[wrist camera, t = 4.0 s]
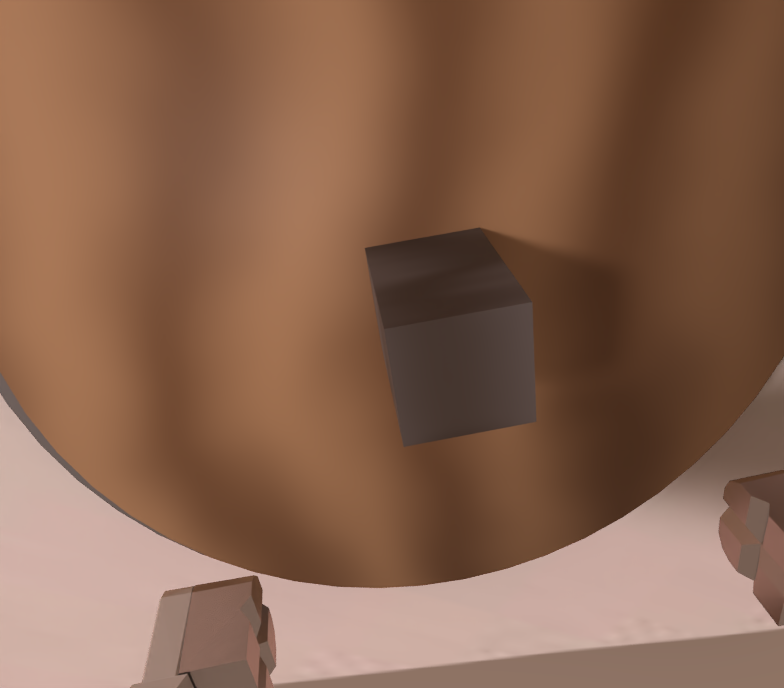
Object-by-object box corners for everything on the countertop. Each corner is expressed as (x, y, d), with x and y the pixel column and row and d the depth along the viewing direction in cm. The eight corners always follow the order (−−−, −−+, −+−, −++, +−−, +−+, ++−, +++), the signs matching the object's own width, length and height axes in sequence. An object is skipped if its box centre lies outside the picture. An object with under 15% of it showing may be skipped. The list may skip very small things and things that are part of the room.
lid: (926, -351, 15) (1267, -527, 10) (760, 500, 28) (865, 622, 23) (-256, -175, 14) (-590, -263, 9) (147, 621, 27) (111, 776, 22)
